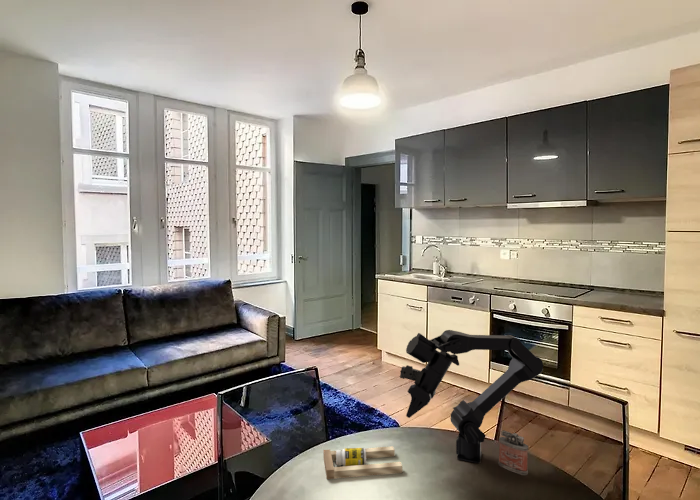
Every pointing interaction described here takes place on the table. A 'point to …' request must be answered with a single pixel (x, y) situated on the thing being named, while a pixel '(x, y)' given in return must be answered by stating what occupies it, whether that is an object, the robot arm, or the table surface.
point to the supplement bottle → (351, 457)
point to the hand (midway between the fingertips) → (407, 416)
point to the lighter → (513, 453)
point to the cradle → (362, 469)
